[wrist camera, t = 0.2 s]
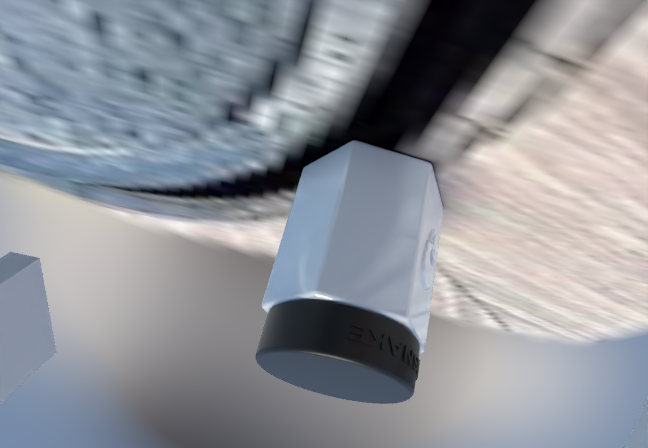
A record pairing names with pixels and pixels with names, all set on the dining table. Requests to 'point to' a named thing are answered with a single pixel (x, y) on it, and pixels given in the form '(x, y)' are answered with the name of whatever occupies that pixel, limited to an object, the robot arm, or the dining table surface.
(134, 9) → the dining table surface
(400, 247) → the jar
